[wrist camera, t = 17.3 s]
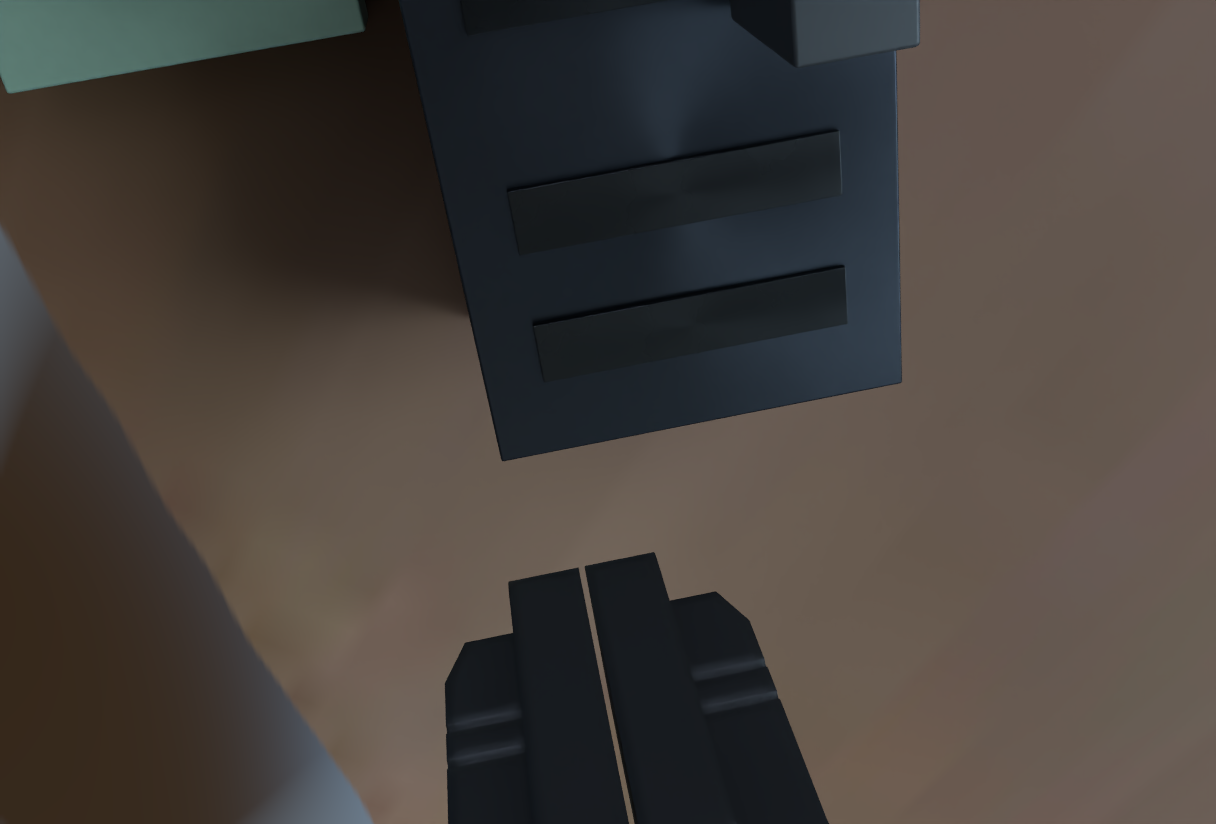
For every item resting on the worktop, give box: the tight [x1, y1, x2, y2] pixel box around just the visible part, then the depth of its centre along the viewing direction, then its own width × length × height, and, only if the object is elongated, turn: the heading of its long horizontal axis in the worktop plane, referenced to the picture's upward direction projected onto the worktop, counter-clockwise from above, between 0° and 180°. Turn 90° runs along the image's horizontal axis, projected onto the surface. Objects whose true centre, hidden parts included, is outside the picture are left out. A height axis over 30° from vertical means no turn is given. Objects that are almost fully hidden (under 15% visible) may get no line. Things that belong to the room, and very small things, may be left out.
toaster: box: [399, 0, 902, 461], centre depth 31 cm, size 14×11×10 cm
